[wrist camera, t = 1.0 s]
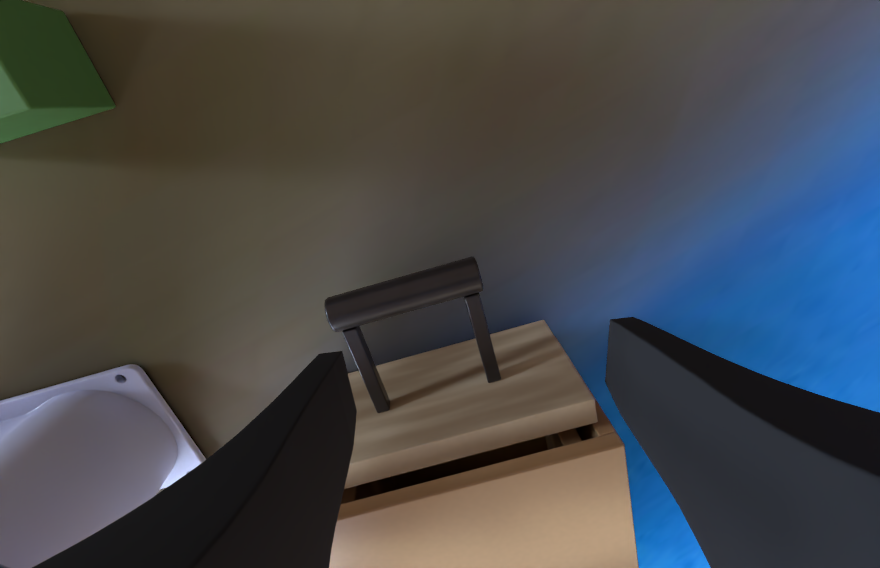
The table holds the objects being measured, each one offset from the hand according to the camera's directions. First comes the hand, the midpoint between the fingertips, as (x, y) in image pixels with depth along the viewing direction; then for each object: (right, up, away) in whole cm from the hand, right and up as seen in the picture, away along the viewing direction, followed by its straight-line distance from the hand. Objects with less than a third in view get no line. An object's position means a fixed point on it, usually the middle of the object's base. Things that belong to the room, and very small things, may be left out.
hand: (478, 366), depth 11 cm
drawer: (0, -5, +12) cm, 13 cm away
